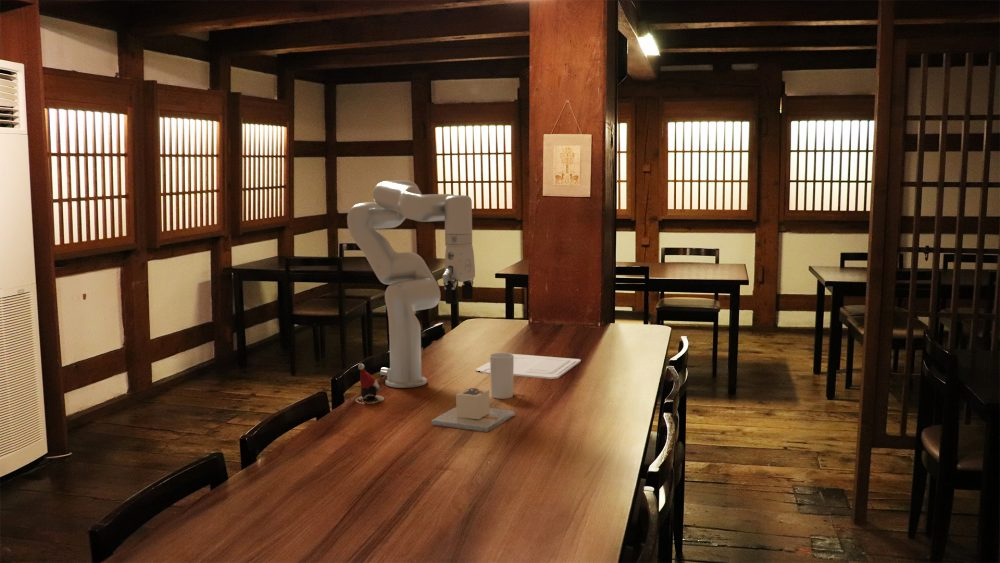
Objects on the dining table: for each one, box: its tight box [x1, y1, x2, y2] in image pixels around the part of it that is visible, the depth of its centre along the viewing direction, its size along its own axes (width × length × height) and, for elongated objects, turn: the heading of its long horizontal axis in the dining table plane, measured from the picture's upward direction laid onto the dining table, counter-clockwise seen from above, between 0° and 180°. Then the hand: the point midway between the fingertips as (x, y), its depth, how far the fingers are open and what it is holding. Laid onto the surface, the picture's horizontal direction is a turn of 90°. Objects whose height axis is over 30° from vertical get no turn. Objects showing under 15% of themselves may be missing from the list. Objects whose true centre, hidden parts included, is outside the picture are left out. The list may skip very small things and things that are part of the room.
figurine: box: [354, 363, 385, 405], centre depth 242 cm, size 8×10×12 cm
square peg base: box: [431, 387, 515, 433], centre depth 222 cm, size 16×16×8 cm
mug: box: [489, 352, 514, 400], centre depth 247 cm, size 10×7×12 cm, turn 158°
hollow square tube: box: [455, 388, 491, 419], centre depth 222 cm, size 6×6×6 cm
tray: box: [475, 353, 582, 380], centre depth 283 cm, size 28×28×2 cm
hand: (459, 301), depth 238 cm, fingers open, 9 cm apart
